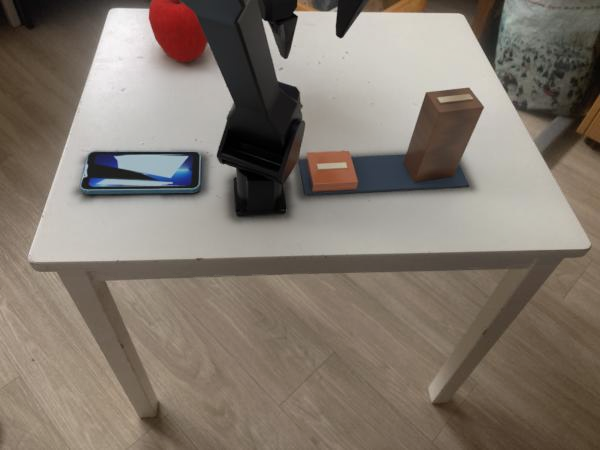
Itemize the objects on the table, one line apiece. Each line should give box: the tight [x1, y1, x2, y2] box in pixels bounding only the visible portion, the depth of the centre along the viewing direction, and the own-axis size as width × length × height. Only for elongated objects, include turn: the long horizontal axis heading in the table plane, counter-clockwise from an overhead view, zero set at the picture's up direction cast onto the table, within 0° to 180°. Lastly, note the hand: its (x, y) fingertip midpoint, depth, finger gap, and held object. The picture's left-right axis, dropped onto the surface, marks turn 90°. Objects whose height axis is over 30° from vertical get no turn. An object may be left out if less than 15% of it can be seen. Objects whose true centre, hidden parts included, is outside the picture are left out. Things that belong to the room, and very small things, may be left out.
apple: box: [148, 0, 208, 64], centre depth 78 cm, size 10×10×11 cm
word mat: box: [298, 153, 470, 197], centre depth 68 cm, size 23×7×1 cm, turn 98°
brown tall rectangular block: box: [404, 87, 485, 182], centre depth 64 cm, size 6×4×12 cm, turn 105°
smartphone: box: [79, 150, 203, 195], centre depth 64 cm, size 7×1×15 cm
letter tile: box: [305, 150, 358, 192], centre depth 66 cm, size 6×6×2 cm
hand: (312, 46), depth 63 cm, fingers open, 9 cm apart
